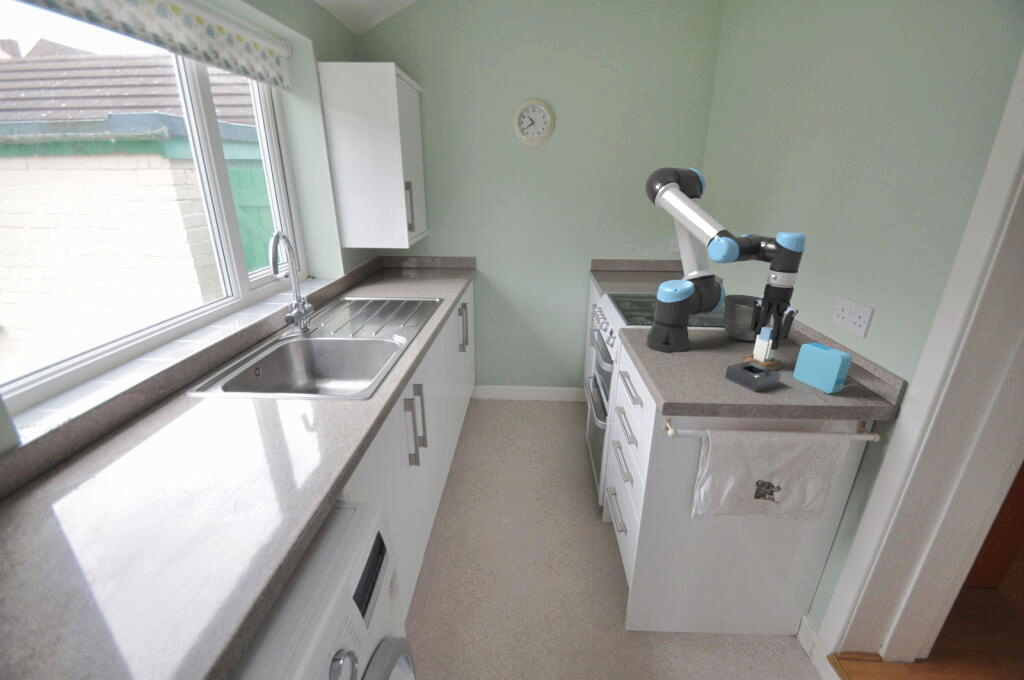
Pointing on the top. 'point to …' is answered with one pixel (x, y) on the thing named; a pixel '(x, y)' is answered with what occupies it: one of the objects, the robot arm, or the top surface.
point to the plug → (763, 344)
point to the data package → (822, 367)
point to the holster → (771, 364)
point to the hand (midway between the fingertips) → (762, 355)
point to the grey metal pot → (740, 316)
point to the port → (752, 376)
